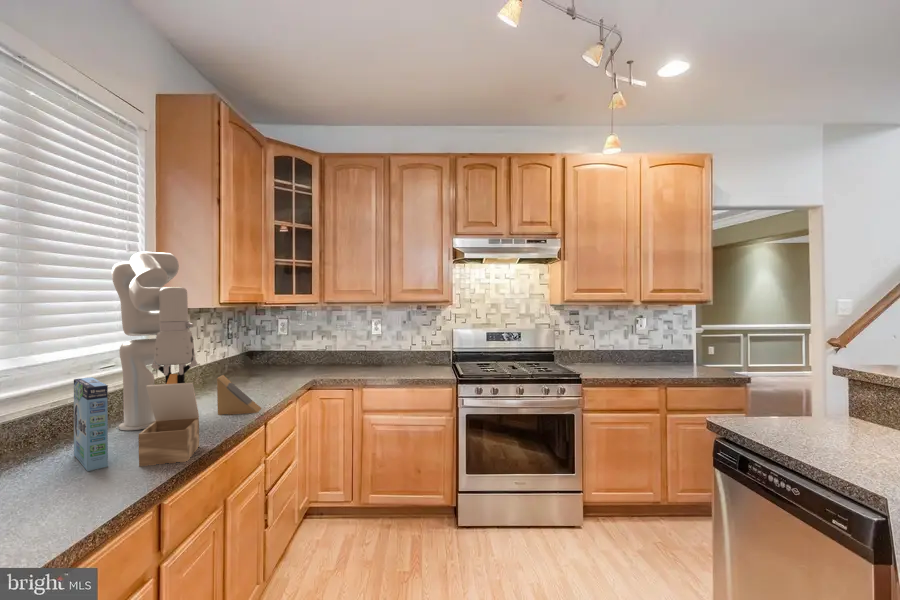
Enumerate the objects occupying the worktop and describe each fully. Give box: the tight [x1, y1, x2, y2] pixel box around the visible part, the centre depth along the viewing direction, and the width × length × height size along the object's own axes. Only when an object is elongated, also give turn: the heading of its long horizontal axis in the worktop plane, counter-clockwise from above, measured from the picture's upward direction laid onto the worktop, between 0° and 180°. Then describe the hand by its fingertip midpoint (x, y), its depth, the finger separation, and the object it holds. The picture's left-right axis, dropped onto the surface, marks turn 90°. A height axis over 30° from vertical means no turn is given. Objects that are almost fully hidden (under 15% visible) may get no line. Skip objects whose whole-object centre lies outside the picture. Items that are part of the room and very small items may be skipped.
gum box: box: [73, 376, 109, 473], centre depth 134 cm, size 20×5×23 cm, turn 47°
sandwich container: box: [216, 374, 262, 416], centre depth 192 cm, size 9×15×15 cm, turn 102°
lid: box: [146, 373, 200, 421], centre depth 143 cm, size 14×12×5 cm
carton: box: [137, 417, 200, 467], centre depth 138 cm, size 14×12×9 cm
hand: (175, 387), depth 143 cm, fingers closed on lid, 2 cm apart
